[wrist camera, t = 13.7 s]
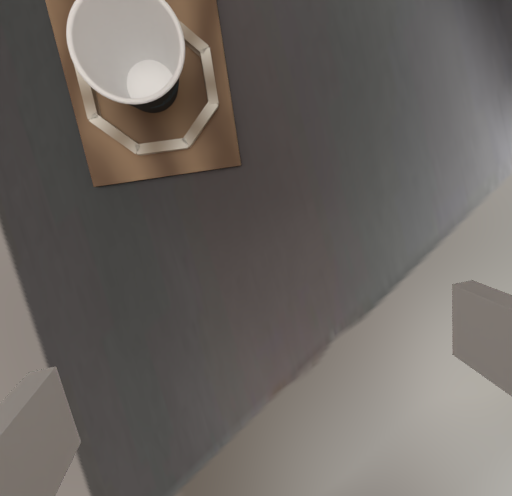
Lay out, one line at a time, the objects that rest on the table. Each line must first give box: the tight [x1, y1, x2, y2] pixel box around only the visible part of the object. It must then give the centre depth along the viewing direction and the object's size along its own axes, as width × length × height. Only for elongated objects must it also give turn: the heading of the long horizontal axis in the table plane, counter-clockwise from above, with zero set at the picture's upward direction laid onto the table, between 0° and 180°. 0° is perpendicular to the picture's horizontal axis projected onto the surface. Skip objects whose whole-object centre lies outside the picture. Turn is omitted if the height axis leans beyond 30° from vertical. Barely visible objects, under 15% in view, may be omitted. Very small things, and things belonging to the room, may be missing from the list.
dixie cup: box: [66, 0, 185, 113], centre depth 27 cm, size 8×8×11 cm
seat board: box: [45, 0, 241, 187], centre depth 33 cm, size 16×18×3 cm
